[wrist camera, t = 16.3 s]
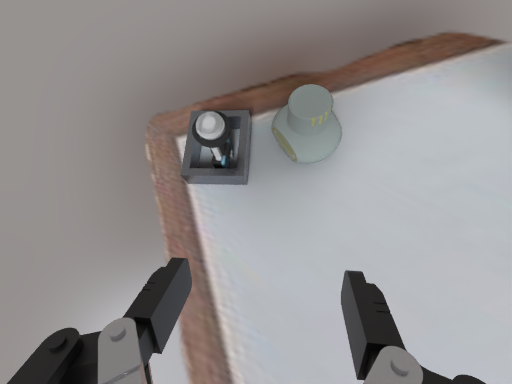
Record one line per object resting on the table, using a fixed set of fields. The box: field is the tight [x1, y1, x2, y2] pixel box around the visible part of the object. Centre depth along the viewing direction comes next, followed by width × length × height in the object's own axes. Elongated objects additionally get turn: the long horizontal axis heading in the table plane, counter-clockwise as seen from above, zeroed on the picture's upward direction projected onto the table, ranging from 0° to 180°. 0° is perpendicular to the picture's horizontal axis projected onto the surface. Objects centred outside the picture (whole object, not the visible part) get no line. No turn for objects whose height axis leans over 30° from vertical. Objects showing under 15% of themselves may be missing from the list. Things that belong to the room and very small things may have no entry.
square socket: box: [181, 110, 251, 185], centre depth 41 cm, size 10×12×4 cm
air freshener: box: [271, 84, 342, 163], centre depth 37 cm, size 11×8×10 cm
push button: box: [192, 111, 234, 169], centre depth 38 cm, size 7×5×10 cm
